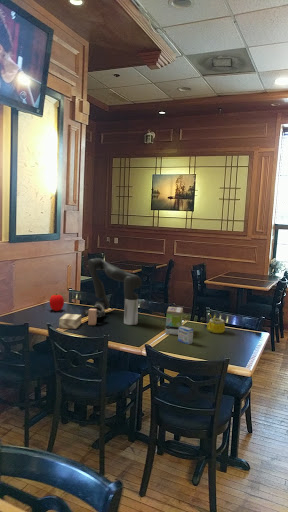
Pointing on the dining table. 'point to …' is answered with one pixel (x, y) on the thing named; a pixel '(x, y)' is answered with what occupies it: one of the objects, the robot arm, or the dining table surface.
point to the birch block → (70, 321)
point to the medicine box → (185, 335)
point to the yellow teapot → (216, 325)
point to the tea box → (173, 320)
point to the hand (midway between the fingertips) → (92, 315)
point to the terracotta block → (92, 316)
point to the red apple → (56, 302)
